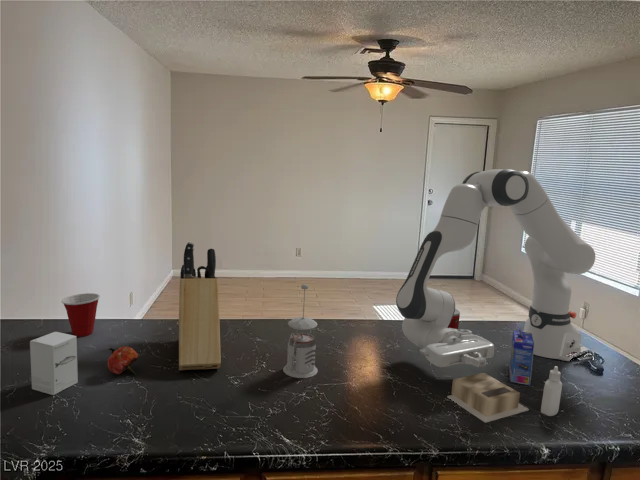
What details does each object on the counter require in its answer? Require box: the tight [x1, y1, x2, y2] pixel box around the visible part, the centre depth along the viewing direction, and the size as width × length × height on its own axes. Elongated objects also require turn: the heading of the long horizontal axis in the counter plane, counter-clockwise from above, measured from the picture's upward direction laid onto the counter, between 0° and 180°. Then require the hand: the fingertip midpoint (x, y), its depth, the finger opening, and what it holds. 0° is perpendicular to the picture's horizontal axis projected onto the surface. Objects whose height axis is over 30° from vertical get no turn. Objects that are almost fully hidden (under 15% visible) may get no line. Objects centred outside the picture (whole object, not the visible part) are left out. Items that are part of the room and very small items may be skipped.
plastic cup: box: [61, 292, 101, 338], centre depth 152 cm, size 11×11×12 cm
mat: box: [447, 394, 530, 424], centre depth 123 cm, size 15×13×1 cm
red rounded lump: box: [107, 346, 139, 376], centre depth 128 cm, size 7×7×10 cm
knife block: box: [178, 242, 222, 371], centre depth 143 cm, size 11×35×31 cm, turn 16°
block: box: [451, 372, 521, 416], centre depth 123 cm, size 11×4×12 cm
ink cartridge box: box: [508, 326, 534, 386], centre depth 138 cm, size 10×6×14 cm, turn 161°
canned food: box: [448, 308, 461, 329], centre depth 163 cm, size 8×8×11 cm
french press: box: [282, 283, 318, 379], centre depth 133 cm, size 10×12×25 cm
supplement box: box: [29, 331, 79, 396], centre depth 118 cm, size 7×7×13 cm
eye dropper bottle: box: [540, 365, 563, 417], centre depth 120 cm, size 4×6×12 cm
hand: (482, 363), depth 124 cm, fingers closed
